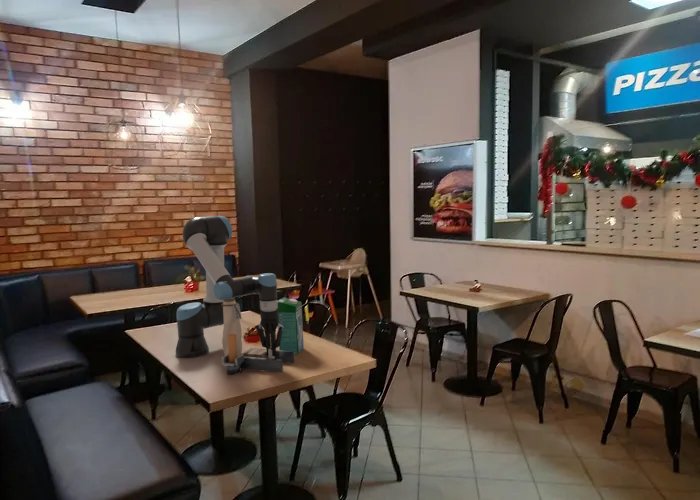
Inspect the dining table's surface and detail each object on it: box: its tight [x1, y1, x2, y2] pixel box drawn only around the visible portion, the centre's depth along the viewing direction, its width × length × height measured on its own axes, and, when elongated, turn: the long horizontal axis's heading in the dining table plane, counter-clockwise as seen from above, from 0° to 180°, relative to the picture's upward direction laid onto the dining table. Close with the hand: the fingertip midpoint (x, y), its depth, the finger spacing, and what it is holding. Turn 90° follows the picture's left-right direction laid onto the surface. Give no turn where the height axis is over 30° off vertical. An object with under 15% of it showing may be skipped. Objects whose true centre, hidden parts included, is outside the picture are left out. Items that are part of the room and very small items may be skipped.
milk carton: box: [277, 297, 305, 355], centre depth 244 cm, size 9×9×25 cm
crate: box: [246, 347, 269, 358], centre depth 227 cm, size 8×8×6 cm
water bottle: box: [221, 297, 243, 356], centre depth 237 cm, size 10×9×28 cm
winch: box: [221, 354, 244, 376], centre depth 219 cm, size 7×8×7 cm
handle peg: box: [228, 334, 237, 363], centre depth 218 cm, size 3×3×12 cm
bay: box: [237, 347, 296, 373], centre depth 226 cm, size 21×13×5 cm, turn 71°
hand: (271, 362), depth 225 cm, fingers closed
